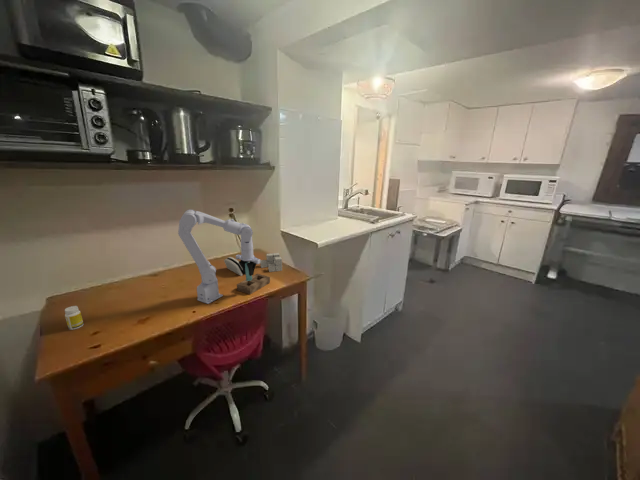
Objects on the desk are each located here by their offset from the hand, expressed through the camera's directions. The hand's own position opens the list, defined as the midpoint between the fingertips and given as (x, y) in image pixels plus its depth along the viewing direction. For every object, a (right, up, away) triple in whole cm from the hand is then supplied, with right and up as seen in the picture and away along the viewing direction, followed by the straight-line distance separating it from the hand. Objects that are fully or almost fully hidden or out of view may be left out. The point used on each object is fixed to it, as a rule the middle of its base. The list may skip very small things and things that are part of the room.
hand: (248, 274), depth 141 cm
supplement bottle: (-63, -18, -28) cm, 71 cm away
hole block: (0, -8, +9) cm, 12 cm away
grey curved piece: (-15, -2, +29) cm, 32 cm away
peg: (0, -3, +1) cm, 3 cm away
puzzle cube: (+5, -1, +35) cm, 35 cm away
